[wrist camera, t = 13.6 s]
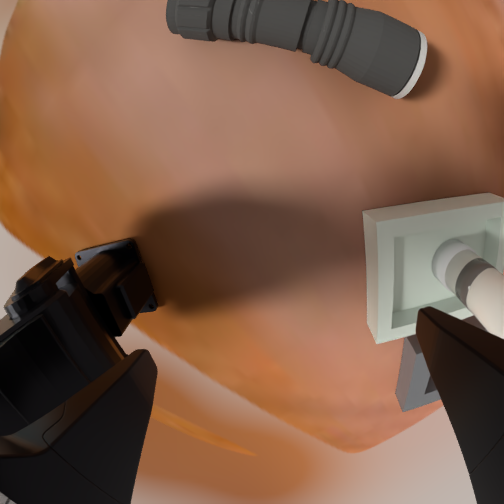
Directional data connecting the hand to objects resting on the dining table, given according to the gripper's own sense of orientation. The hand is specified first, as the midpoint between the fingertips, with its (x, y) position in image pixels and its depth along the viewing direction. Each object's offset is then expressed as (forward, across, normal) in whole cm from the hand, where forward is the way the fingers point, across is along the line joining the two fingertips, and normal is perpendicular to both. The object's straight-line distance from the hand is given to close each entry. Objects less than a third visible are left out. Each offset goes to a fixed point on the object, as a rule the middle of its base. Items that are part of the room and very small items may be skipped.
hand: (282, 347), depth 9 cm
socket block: (+13, -15, +17) cm, 26 cm away
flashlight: (+13, -4, -13) cm, 19 cm away
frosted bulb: (+12, -14, +5) cm, 19 cm away
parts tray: (+13, -13, +5) cm, 19 cm away
